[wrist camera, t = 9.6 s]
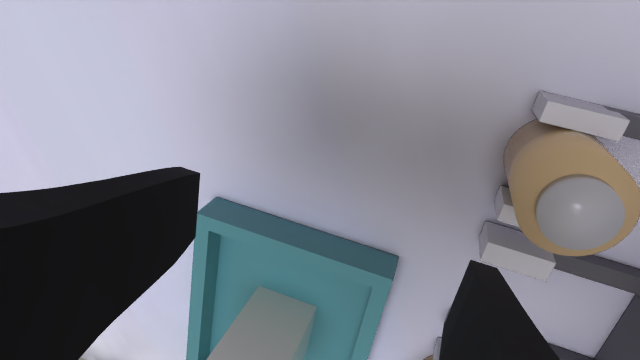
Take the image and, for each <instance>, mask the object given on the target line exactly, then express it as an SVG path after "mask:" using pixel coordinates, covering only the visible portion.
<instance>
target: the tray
mask: <svg viewBox="0 0 640 360" xmlns="http://www.w3.org/2000/svg"><path fill="white" fill-rule="evenodd" d="M398 258H399V257H397V256H394V255H391V254H388V253H385V252H382V251H379V250H376V249H373V248H370V247H367V246H364V245H361V244H358V243H355V242H352V241H349V240H346V239H343V238H340V237H337V236H334V235H331V234H328V233H325V232H322V231H319V230H315V229H312V228H309V227H306V226H303V225H300V224H297V223H294V222H291V221H288V220H285V219H282V218H279V217H276V216H273V215H270V214H267V213H264V212H261V211H258V210H255V209H252V208H249V207H246V206H243V205H240V204H237V203H233V202H230V201H227V200H224V199H221V198H218V197H216V198H214V199H213V200H212V201H211V202H209V203H208V204H207V205H206V206H204V207H203V208H202V209H201V210H199V211H198V212H197V225H196V237H195V238H194V252H193V267H192V282H191V297H190V311H189V326H188V341H187V356H186V360H206V359H207V358H208V357H209V355H210V354H211V352H212V351H213V350H214V348H215V347H216V345H217V344H218V343H219V341H220V340H221V338H222V337H223V336H224V334H225V333H226V331H227V330H228V329H229V327H230V326H231V324H232V323H233V322H234V320H235V319H236V317H237V316H238V315H239V313H240V312H241V310H242V309H243V308H244V306H245V305H246V303H247V302H248V301H249V299H250V298H251V296H252V295H253V294H254V292H255V291H256V289H257V288H258V287H259V286H261V287H264V288H266V289H269V290H272V291H275V292H278V293H280V294H283V295H286V296H289V297H291V298H294V299H297V300H300V301H303V302H305V303H308V304H311V305H314V306H316V307H317V309H316V313H315V317H314V322H313V326H312V331H311V335H310V340H309V344H308V348H307V352H306V355H305V357H304V359H303V360H367V359H368V355H369V352H370V349H371V346H372V343H373V340H374V337H375V334H376V331H377V328H378V325H379V321H380V318H381V315H382V312H383V309H384V306H385V303H386V300H387V297H388V294H389V291H390V287H391V284H392V281H393V278H394V274H395V270H396V266H397V262H398Z"/></svg>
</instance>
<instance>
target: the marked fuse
mask: <svg viewBox="0 0 640 360" xmlns="http://www.w3.org/2000/svg"><path fill="white" fill-rule="evenodd" d="M316 309H317V307H316V306H314V305H311V304H308V303H305V302H303V301H300V300H297V299H294V298H291V297H289V296H286V295H283V294H280V293H278V292H275V291H272V290H269V289H266V288H264V287H261V286H259V287H258V288H257V289H256V291H255V292H254V294H253V295H252V296H251V298H250V299H249V301H248V302H247V303H246V305H245V306H244V308H243V309H242V310H241V312H240V313H239V315H238V316H237V317H236V319H235V320H234V322H233V323H232V324H231V326H230V327H229V329H228V330H227V331H226V333H225V334H224V336H223V337H222V338H221V340H220V341H219V343H218V344H217V345H216V347H215V348H214V350H213V351H212V352H211V354H210V355H209V357H208V358H207V359H206V360H303V359H304V357H305V355H306V352H307V348H308V344H309V340H310V335H311V331H312V326H313V322H314V317H315V313H316Z"/></svg>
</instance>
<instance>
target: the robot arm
mask: <svg viewBox="0 0 640 360" xmlns="http://www.w3.org/2000/svg"><path fill="white" fill-rule="evenodd" d="M199 182H200V173H198V172H195V171H192V170H188V169H185V168H182V167H172V168H164V169H158V170H152V171H147V172H141V173H136V174H131V175H126V176H121V177H115V178H110V179H105V180H100V181H93V182H87V183H81V184H75V185H69V186H63V187H56V188H49V189H40V190H31V191H20V192H9V193H0V360H78V359H79V358H80V357H81V356H82V355H83V353H84V352H85V351H86V350H87V349H88V348H89V347H90V345H91V344H92V343H93V342H94V341H95V340H96V339H97V337H98V336H99V335H100V334H101V333H102V332H103V331H104V330H105V329H106V328H107V327H108V326H109V325H110V324H111V323H112V322H113V321H114V320H115V319H116V318H117V317H118V316H119V315H120V314H122V313H123V312H124V311H125V310H126V309H127V308H128V307H129V306H130V305H131V304H132V303H133V302H134V301H136V300H137V299H138V298H139V297H140V296H141V295H142V294H143V293H144V292H145V291H146V290H147V289H148V288H150V287H151V286H152V285H153V284H154V283H155V282H156V281H157V280H158V279H159V278H160V277H161V276H162V275H163V274H164V273H165V272H166V271H167V270H168V269H169V268H171V267H172V266H173V265H174V264H175V262H176V261H177V260H178V259H179V257H180V256H181V255H182V254H183V253H184V251H185V250H186V249H187V248H188V246H189V245H190V244H191V242H192V241H193V240H194V238H195V237H196V225H197V211H198V196H199ZM439 360H560V359H559V357H558V356H557V355H556V353H555V352H554V351H553V350H552V348H551V347H550V346H549V344H548V343H547V342H546V340H545V339H544V337H543V336H542V335H541V333H540V332H539V330H538V329H537V328H536V326H535V325H534V323H533V322H532V320H531V319H530V317H529V316H528V315H527V313H526V312H525V310H524V309H523V307H522V306H521V304H520V302H519V301H518V299H517V298H516V296H515V295H514V293H513V292H512V290H511V289H510V287H509V285H508V284H507V282H506V281H505V279H504V278H503V276H502V275H501V273H500V272H499V270H498V269H497V268H495V267H492V266H488V265H485V264H482V263H479V262H476V261H473V260H470V262H469V265H468V267H467V270H466V272H465V275H464V277H463V279H462V282H461V284H460V287H459V289H458V292H457V294H456V296H455V299H454V301H453V304H452V306H451V309H450V311H449V313H448V316H447V318H446V321H445V323H444V327H443V334H442V341H441V348H440V355H439Z"/></svg>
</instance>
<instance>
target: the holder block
mask: <svg viewBox="0 0 640 360" xmlns="http://www.w3.org/2000/svg"><path fill="white" fill-rule="evenodd" d="M532 111H533V112H534V114H535V115H536V117H537V119H538V120H539V122H543V123H547V124H551V125H555V126H559V127H563V128H567V129H571V130H575V131H579V132H583V133H587V134H591V135H595V136H599V137H603V138H607V139H611V140H615V141H620V139H621V137H622V136H626V137H630V138H634V139H638V140H640V114H636V113H632V112H627V111H623V110H619V109H615V108H611V107H606V106H602V105H598V104H594V103H589V102H585V101H581V100H577V99H573V98H568V97H564V96H560V95H556V94H552V93H547V92H543V91H539V93H538V95H537V98H536V100H535V103H534V105H533V108H532ZM494 203H495V210H496V216H497V221H500V222H504V223H507V224H510V225H514V226H517V227H519V225H518V222H517V219H516V215H515V211H514V207H513V202H512V198H511V194H510V189H509V188H507V187H504V186H500V188H499V190H498V193H497V195H496V198H495V200H494ZM479 253H480V261H482V262H485V263H488V264H491V265H494V266H498V267H501V268H504V269H507V270H510V271H513V272H516V273H520V274H523V275H526V276H529V277H532V278H535V279H538V280H541V281H545V282H547V280H548V278H549V276H550V274H551V272H552V270H553V268H554V269H557V270H561V271H564V272H567V273H570V274H573V275H577V276H580V277H583V278H586V279H589V280H593V281H596V282H599V283H602V284H605V285H609V286H612V287H615V288H618V289H621V290H625V291H628V292H631V293H634V294H636V295H635V297H634V298H633V300H632V301H631V303H630V304H629V306H628V307H627V309H626V311H625V312H624V314H623V315H622V317H621V318H620V320H619V321H618V323H617V324H616V326H615V328H614V329H613V331H612V332H611V334H610V335H609V337H608V338H607V340H606V342H605V343H604V345H603V346H602V348H601V349H600V351H599V352H598V354H597V355H596V357H595V359H592V358H589V357H586V356H583V355H580V354H577V353H575V352H572V351H569V350H566V349H563V348H560V347H557V346H554V345H551V344H549V346H550V347H551V348H552V350H553V351H554V352H555V353H556V355H557V356H558V357H559V359H560V360H640V269H637V268H633V267H630V266H627V265H623V264H620V263H617V262H613V261H610V260H607V259H603V258H600V257H597V256H593V255H586V256H564V255H558V254H554V253H551V252H548V251H546V250H544V249H542V248H540V247H538V246H536V245H535V244H533V243H532V242H531V241H530V240H529V239H528V238H527V237H526V236H525V235H524V234H523V232H521V231H517V230H514V229H511V228H507V227H504V226H501V225H497V224H494V223H491V222H487V221H486V222H485V224H484V227H483V229H482V232H481V234H480V237H479ZM450 309H451V308H450ZM449 311H450V310H449ZM448 313H449V312H448ZM447 316H448V314H447ZM446 318H447V317H446ZM445 321H446V319H445ZM444 323H445V322H444ZM441 341H442V338H439V337H438V339H437V341H436V344H435V346H434V352H433V360H439V355H440V348H441Z"/></svg>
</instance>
